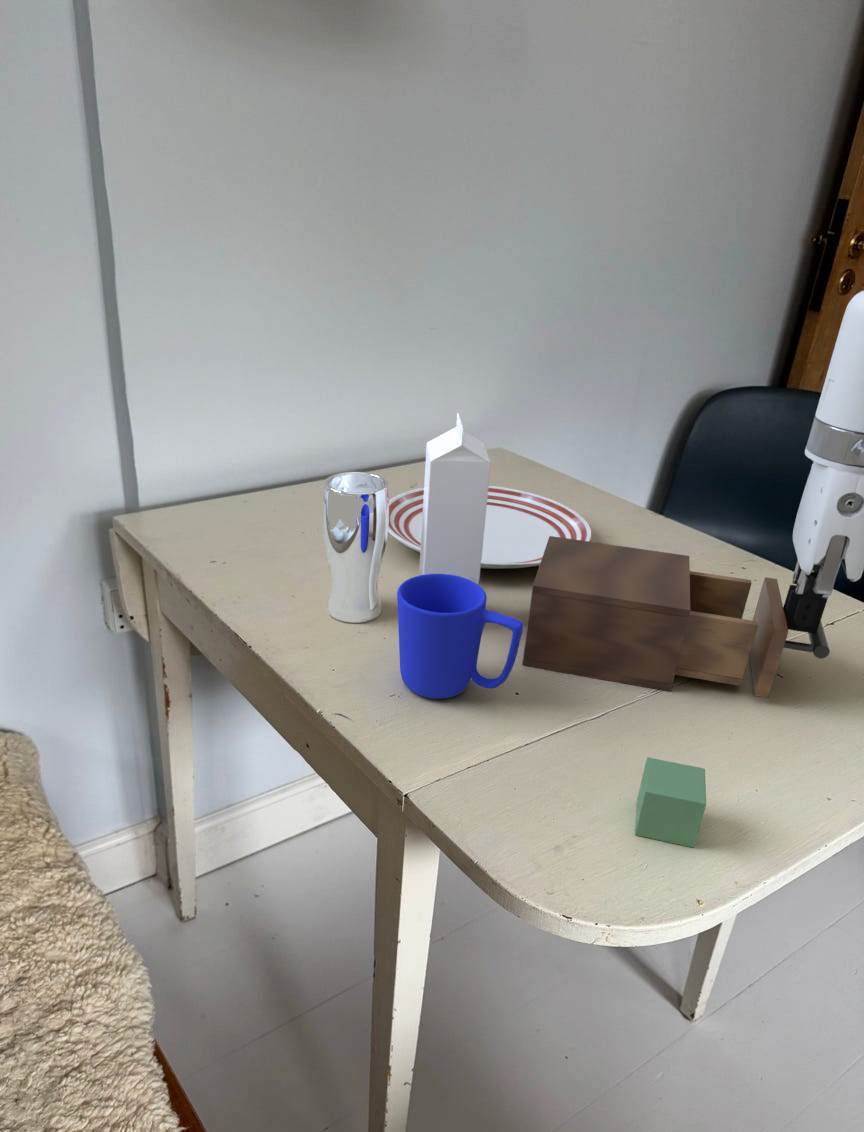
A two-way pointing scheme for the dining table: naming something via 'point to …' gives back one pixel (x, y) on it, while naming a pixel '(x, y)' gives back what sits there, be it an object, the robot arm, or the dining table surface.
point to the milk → (454, 505)
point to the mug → (446, 635)
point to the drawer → (737, 633)
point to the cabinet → (609, 612)
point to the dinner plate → (499, 525)
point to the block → (670, 802)
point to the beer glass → (355, 543)
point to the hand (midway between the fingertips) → (797, 626)
